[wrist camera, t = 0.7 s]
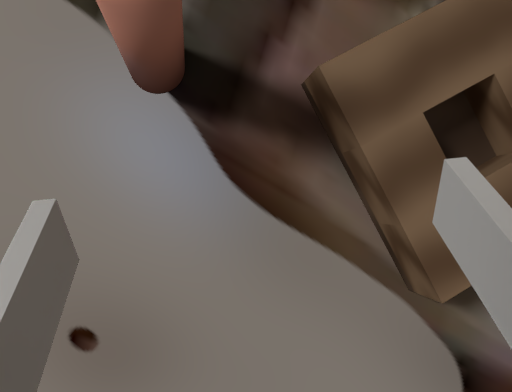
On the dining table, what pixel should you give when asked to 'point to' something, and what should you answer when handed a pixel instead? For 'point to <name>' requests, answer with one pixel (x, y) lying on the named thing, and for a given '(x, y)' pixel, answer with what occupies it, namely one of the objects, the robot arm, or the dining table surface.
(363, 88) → the socket block
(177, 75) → the peg
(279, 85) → the dining table surface
